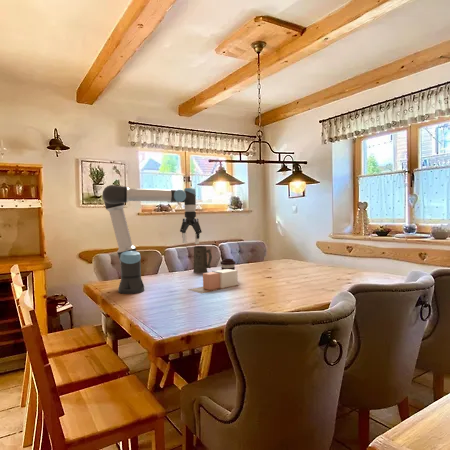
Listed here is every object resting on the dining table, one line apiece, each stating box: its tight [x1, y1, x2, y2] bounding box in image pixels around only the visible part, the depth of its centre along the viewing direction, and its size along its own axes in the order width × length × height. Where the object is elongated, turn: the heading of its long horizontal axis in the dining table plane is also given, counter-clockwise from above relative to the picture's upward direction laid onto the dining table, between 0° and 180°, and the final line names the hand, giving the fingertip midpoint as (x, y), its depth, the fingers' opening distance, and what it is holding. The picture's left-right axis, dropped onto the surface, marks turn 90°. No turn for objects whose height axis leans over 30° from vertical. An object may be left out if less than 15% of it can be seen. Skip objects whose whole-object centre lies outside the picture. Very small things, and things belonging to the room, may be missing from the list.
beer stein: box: [193, 245, 213, 274], centre depth 276 cm, size 15×11×20 cm
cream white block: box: [211, 269, 239, 288], centre depth 221 cm, size 13×9×9 cm
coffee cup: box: [220, 258, 236, 270], centre depth 236 cm, size 10×10×15 cm
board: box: [187, 284, 241, 294], centre depth 215 cm, size 30×14×1 cm, turn 131°
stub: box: [202, 270, 220, 290], centre depth 214 cm, size 8×6×9 cm
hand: (190, 243), depth 237 cm, fingers open, 13 cm apart
